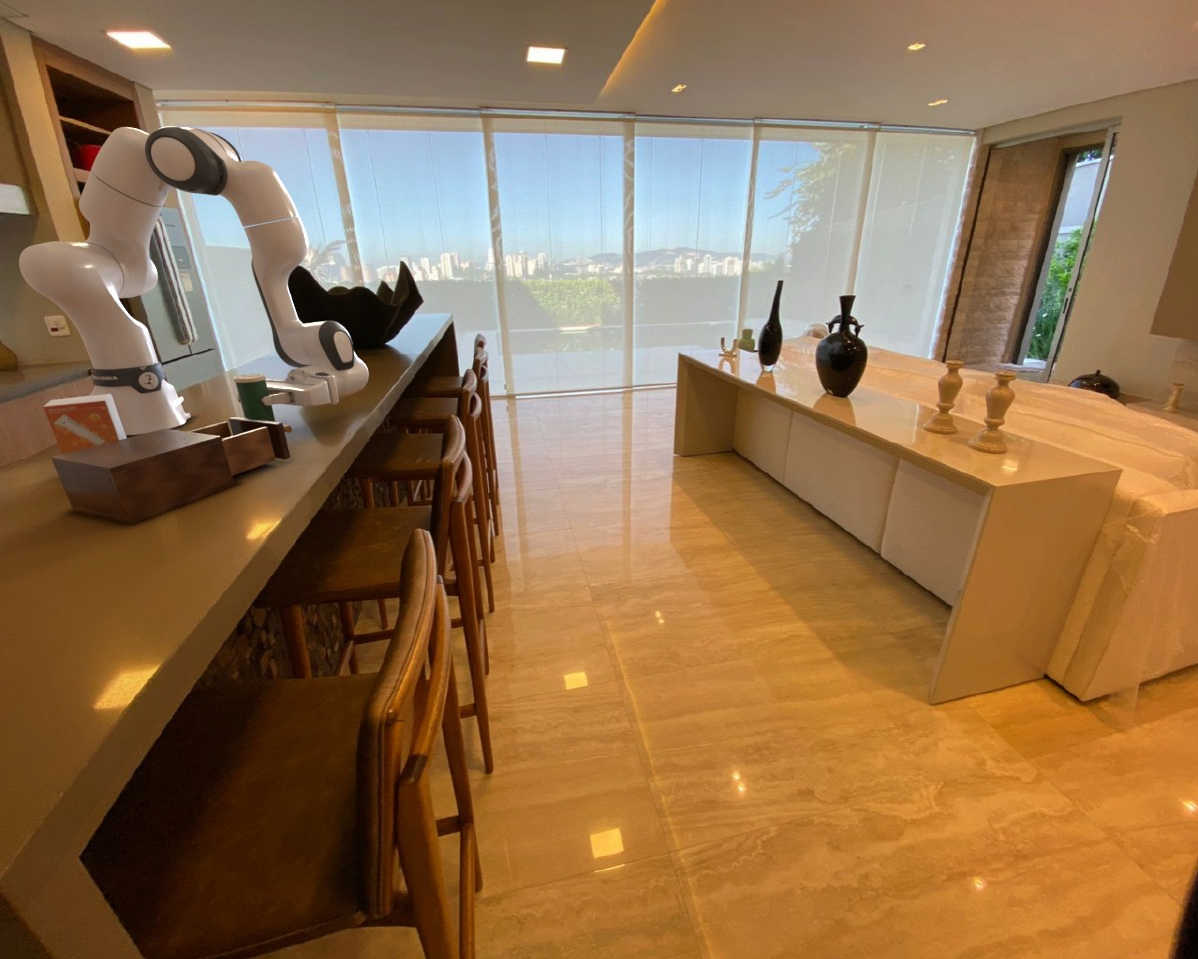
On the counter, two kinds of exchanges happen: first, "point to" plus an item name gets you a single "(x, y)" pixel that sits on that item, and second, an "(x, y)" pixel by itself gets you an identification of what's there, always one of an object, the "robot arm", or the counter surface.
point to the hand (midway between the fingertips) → (251, 400)
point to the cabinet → (144, 474)
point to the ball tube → (254, 397)
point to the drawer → (250, 442)
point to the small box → (84, 422)
